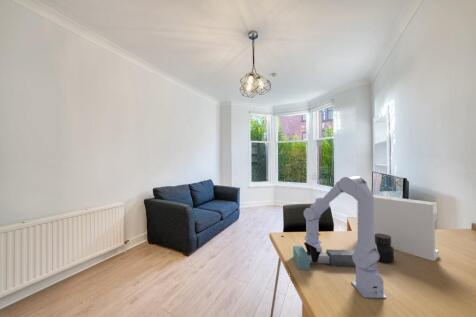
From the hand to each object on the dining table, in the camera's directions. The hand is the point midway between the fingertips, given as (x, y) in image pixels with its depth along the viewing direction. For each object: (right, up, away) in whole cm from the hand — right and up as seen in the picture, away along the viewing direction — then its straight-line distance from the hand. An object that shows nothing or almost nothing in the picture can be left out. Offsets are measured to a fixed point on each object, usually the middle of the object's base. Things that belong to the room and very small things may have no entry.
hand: (312, 259), depth 97 cm
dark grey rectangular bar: (+15, -2, -1) cm, 15 cm away
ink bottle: (+37, -2, +3) cm, 37 cm away
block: (+55, -2, +18) cm, 58 cm away
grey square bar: (+3, -1, 0) cm, 3 cm away
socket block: (-6, -2, 0) cm, 6 cm away
